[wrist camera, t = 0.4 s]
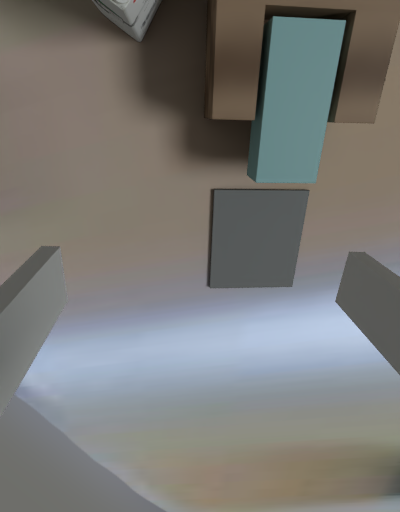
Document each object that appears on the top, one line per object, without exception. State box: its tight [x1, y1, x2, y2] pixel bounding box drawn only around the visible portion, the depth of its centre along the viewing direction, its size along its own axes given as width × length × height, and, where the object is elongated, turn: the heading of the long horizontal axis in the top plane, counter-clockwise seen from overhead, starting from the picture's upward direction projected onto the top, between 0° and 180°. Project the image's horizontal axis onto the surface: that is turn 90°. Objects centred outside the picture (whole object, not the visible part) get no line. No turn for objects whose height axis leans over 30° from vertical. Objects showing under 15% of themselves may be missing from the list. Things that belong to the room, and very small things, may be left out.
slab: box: [247, 16, 346, 183], centre depth 29 cm, size 13×6×4 cm, turn 178°
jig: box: [204, 0, 400, 124], centre depth 28 cm, size 16×15×8 cm
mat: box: [210, 189, 309, 288], centre depth 41 cm, size 14×12×1 cm
